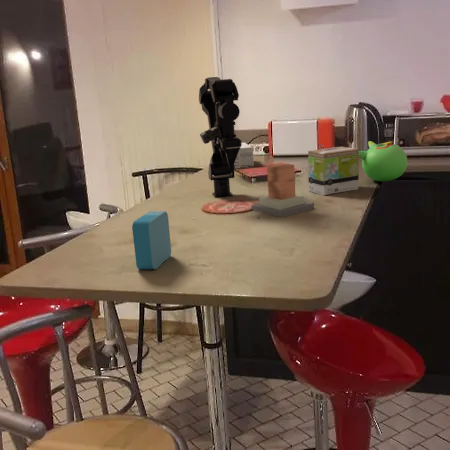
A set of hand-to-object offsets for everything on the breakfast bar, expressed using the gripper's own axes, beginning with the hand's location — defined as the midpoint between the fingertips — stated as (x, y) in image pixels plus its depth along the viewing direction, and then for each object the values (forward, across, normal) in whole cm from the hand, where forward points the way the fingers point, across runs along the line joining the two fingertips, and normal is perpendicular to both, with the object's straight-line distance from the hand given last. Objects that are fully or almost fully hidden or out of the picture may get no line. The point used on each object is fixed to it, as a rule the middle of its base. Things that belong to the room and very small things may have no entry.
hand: (228, 166), depth 199 cm
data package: (+13, +53, -30) cm, 62 cm away
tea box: (+13, -3, +38) cm, 40 cm away
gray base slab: (+14, +15, +14) cm, 25 cm away
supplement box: (+13, -76, +18) cm, 79 cm away
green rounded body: (+13, -10, +60) cm, 62 cm away
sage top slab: (+11, +15, +14) cm, 23 cm away
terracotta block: (+9, +15, +14) cm, 22 cm away
